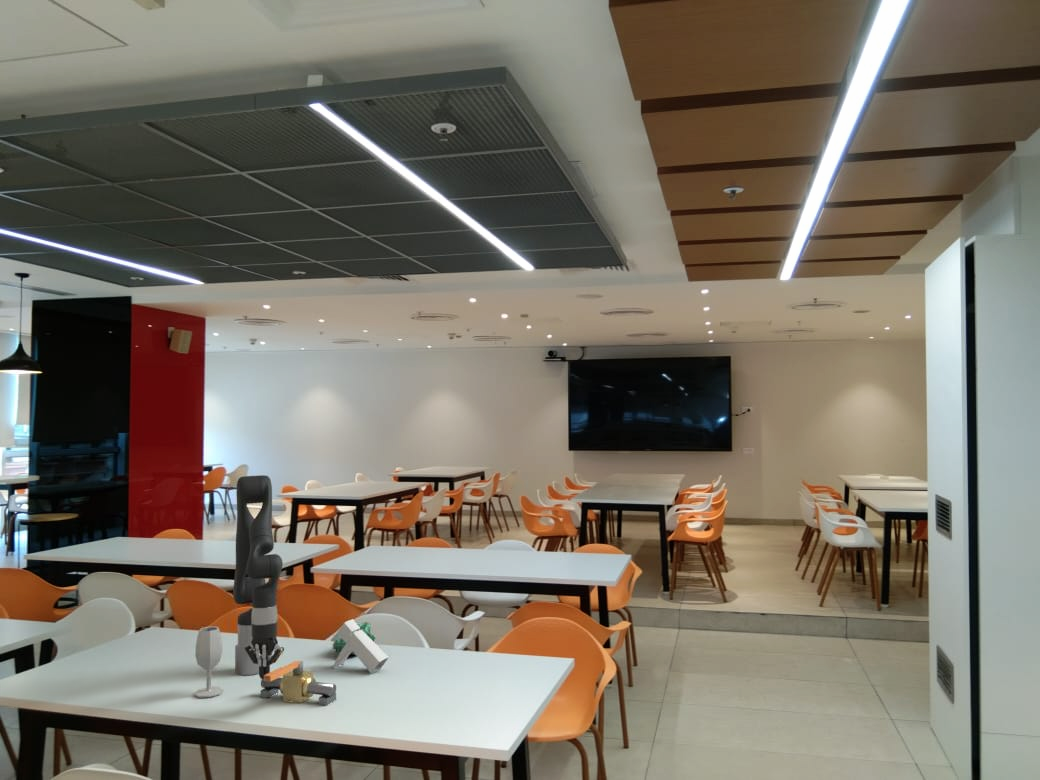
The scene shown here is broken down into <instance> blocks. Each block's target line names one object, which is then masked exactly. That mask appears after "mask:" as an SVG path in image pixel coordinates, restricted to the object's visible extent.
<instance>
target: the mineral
mask: <svg viewBox="0 0 1040 780" xmlns="http://www.w3.org/2000/svg"><path fill="white" fill-rule="evenodd" d="M357 625H358V626H359V627H360V630H362V631H363V632H364V633H365V634H366V635H367V636H368V637H369V638H370V639H371V640H372V641H373V642H374V641H375V640H376V637H375V635H374V634H372V633H371V629H372V626H371V625H372V624H371V622H368V621H364V622H361V623H359V624H358V623H357ZM374 643H375V642H374ZM345 644H346V642H345V641H344V640H343V639H342V638H341V637H340V636H339V637H338V639H337V640H336V641H333V643H332V649H333V650H335V653H336V654H340V652H341V651H342V649H343V647H344V646H345ZM350 655H354V656H356V654H355V653H354V652H353V651H352V652H351V653H350Z"/></svg>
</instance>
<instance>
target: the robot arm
mask: <svg viewBox="0 0 1040 780" xmlns="http://www.w3.org/2000/svg"><path fill="white" fill-rule="evenodd" d="M237 479H238V480H237V481H236V532H235V570H234V579H233V589H232V591H233V592H232V593H233V594H232V596H233V601H234V602H235V604H237V605H247V604H248V605H249V604H252V607H251V608H250V609H248V610H246V611H244V612H242V613H240V614H238V616H237V644H235V645H234V646H235V647H234V654H235V655H234V659H235V660H234V661H235V662H234V664H235V665H234V671H235V672H234V673H237V674H238V675H240V676H251V675H252V676H253V675H257V674H258V676H259V678H260V679H261V680H262V679H264V675H266V674H268V673H270V672H271V671H270V669H271V668H270V667H271V665H273V664H275V663H276V662H277V661H278V660H279V658H280V656H281V655H282V654H283V652H284V651H285V648H284V646H282V647H281V645H279V644H278V639H277V636H278V608H277V591H278V586H279V585H278V584H279V579H280V577H281V573H282V569H283V565H284V564H283V559H282V557H281V556H280V555H279V554H277V553H272V554H269V553H271V552H272V551H273V549H274V546H275V544H274V536H273V528H272V527H273V525H272V521H273V485H272V480H271V478H270V477H269V476H268V475H263V474H261V475H246V476H245V475H244V476H241V477H239V478H237ZM248 504H261V508H260V510H259V511H258V513H257V515H256V516H255V517H254V516H253V514H252V513H251V512H250V509H249V507H248ZM266 579H268V581H267V582H266Z"/></svg>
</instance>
